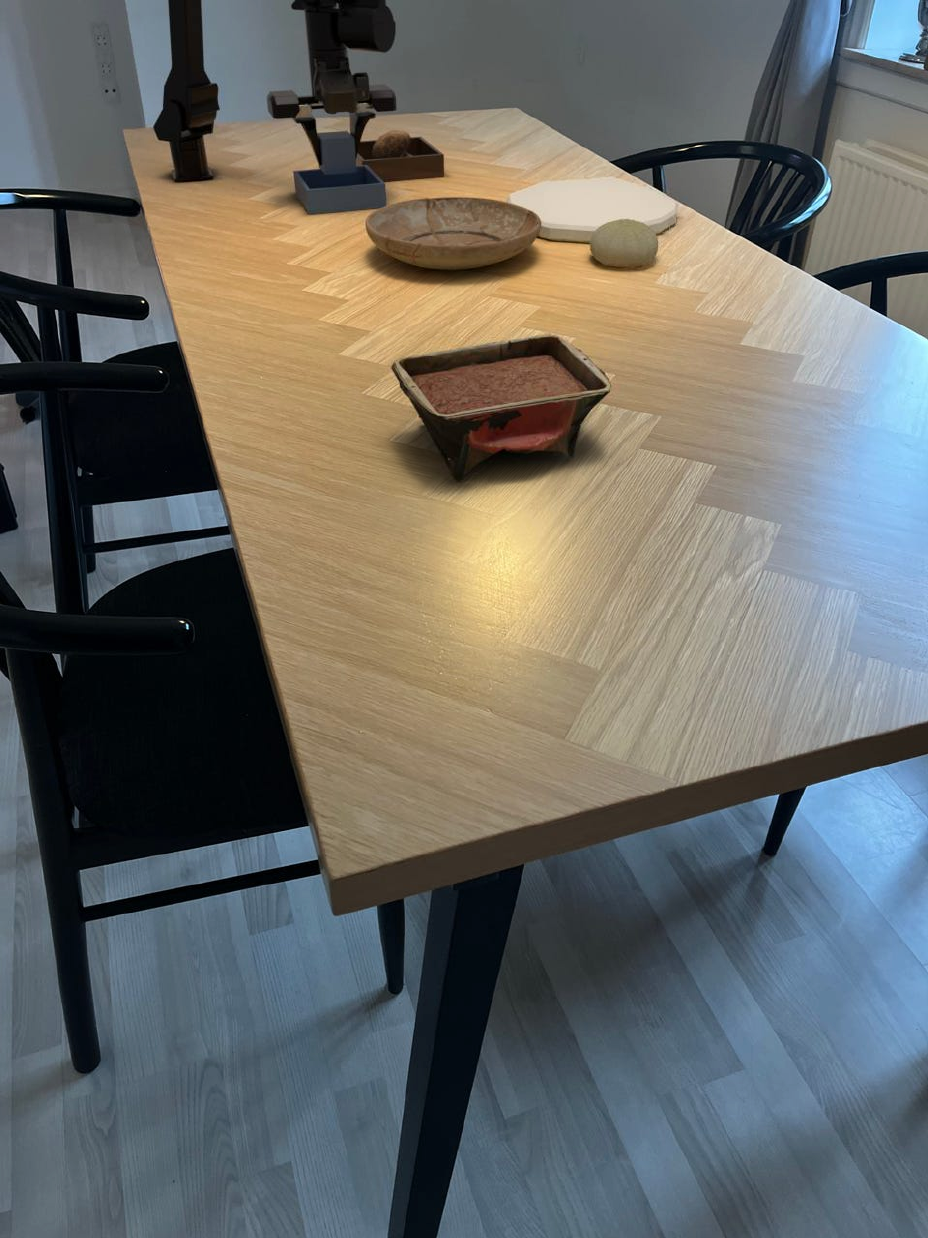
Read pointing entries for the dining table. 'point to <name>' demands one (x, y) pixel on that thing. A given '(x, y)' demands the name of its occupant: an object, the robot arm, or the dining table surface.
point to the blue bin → (339, 190)
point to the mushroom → (391, 145)
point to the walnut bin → (404, 161)
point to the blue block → (337, 153)
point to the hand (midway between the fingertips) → (336, 163)
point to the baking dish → (502, 397)
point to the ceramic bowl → (452, 231)
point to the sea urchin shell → (624, 243)
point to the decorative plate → (593, 206)
